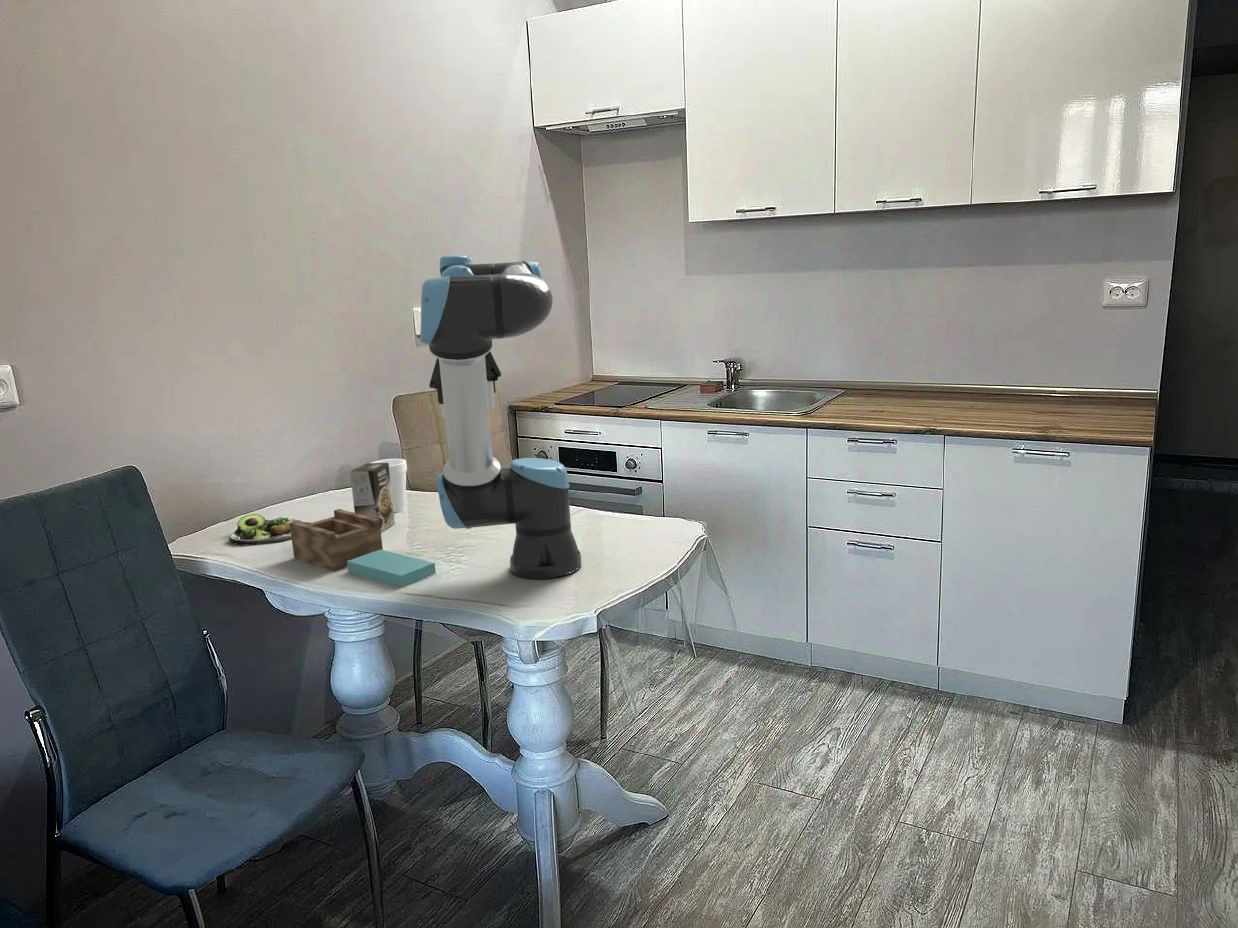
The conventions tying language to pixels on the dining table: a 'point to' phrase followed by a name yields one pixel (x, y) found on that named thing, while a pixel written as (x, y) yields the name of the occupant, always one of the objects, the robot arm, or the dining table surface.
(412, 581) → the lid
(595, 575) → the dining table surface
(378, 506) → the coffee box
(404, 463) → the foam cup
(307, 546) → the walnut box
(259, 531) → the salad plate
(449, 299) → the robot arm
